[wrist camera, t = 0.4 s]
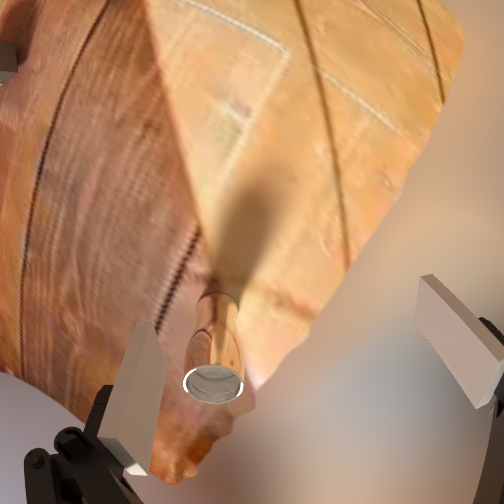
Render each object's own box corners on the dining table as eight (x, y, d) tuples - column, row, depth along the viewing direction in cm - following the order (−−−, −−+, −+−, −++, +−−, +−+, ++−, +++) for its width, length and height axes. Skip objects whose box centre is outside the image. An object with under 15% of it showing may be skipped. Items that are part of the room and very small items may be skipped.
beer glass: (195, 329, 47) (185, 405, 33) (191, 289, 44) (177, 362, 30) (241, 329, 47) (245, 405, 33) (241, 289, 44) (246, 363, 31)
